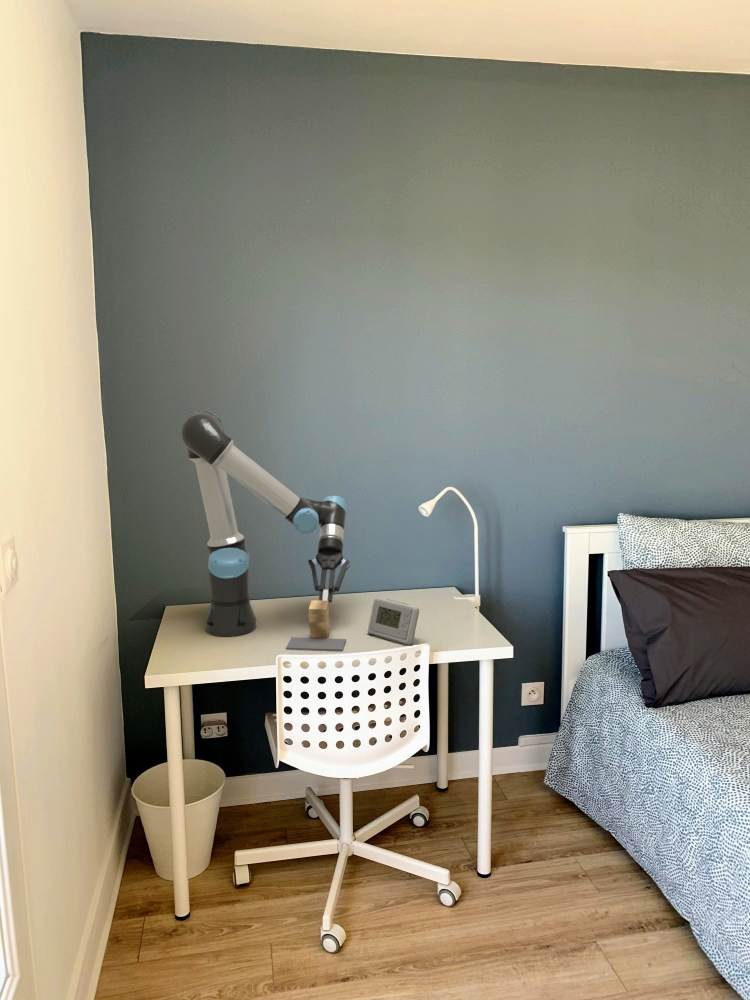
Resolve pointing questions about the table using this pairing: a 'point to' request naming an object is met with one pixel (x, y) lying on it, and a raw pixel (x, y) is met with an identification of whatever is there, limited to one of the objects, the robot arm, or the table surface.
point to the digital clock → (393, 620)
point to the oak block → (319, 619)
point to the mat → (316, 644)
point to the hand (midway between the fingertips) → (324, 611)
